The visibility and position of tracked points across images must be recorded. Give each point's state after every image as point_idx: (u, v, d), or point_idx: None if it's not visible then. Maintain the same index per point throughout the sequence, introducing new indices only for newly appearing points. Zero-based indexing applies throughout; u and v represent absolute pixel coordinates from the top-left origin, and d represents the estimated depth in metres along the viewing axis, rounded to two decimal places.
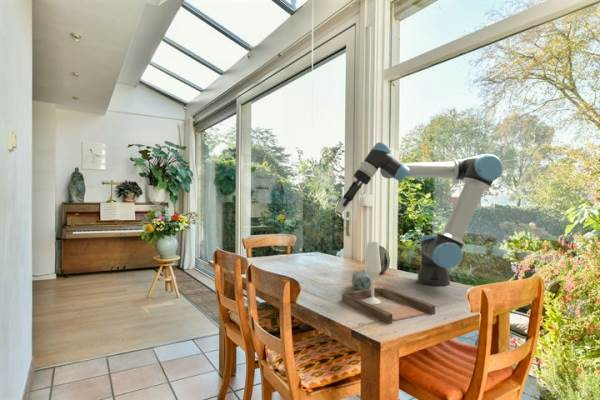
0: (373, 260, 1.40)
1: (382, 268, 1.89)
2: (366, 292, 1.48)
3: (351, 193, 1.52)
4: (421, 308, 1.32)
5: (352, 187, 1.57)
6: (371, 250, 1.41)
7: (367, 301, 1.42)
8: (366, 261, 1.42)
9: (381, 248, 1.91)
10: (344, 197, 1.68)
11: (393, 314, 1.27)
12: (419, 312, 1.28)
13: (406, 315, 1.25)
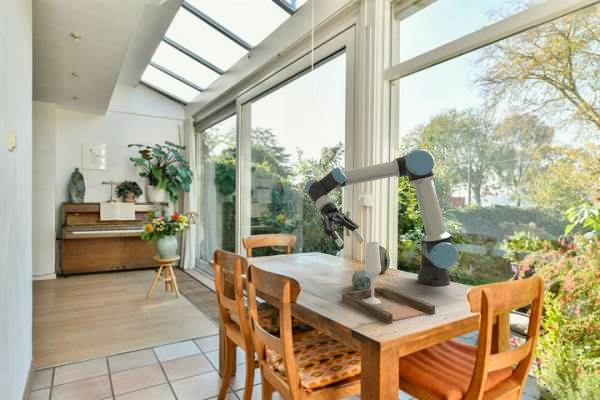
0: (373, 260, 1.40)
1: (382, 268, 1.89)
2: (366, 292, 1.48)
3: (324, 228, 1.50)
4: (421, 308, 1.32)
5: (329, 224, 1.55)
6: (371, 250, 1.41)
7: (367, 301, 1.42)
8: (366, 261, 1.42)
9: (381, 248, 1.91)
10: (352, 230, 1.60)
11: (393, 314, 1.27)
12: (419, 312, 1.28)
13: (406, 315, 1.25)
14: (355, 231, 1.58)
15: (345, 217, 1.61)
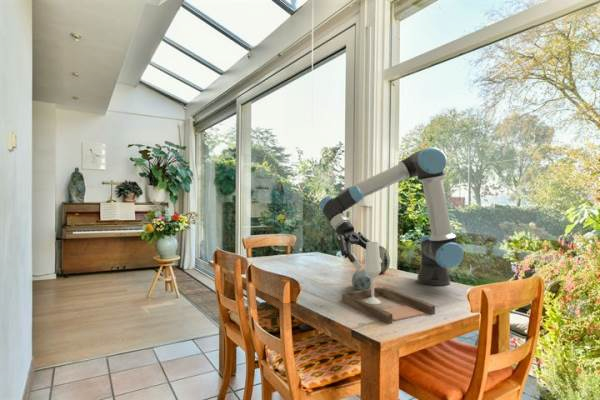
0: (373, 260, 1.40)
1: (382, 268, 1.89)
2: (366, 292, 1.48)
3: (341, 250, 1.42)
4: (421, 308, 1.32)
5: (345, 244, 1.48)
6: (371, 250, 1.41)
7: (367, 301, 1.42)
8: (366, 261, 1.42)
9: (381, 248, 1.91)
10: None
11: (393, 314, 1.27)
12: (419, 312, 1.28)
13: (406, 315, 1.25)
14: None
15: (362, 236, 1.54)
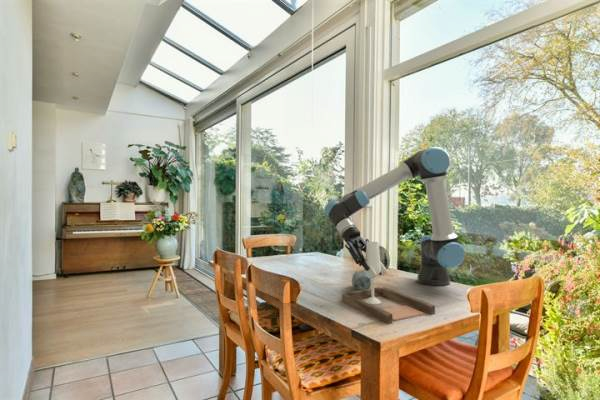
0: (373, 260, 1.40)
1: None
2: (366, 292, 1.48)
3: (354, 258, 1.41)
4: (421, 308, 1.32)
5: None
6: (371, 250, 1.41)
7: (367, 301, 1.42)
8: None
9: (381, 248, 1.91)
10: None
11: (393, 314, 1.27)
12: (419, 312, 1.28)
13: (406, 315, 1.25)
14: None
15: None
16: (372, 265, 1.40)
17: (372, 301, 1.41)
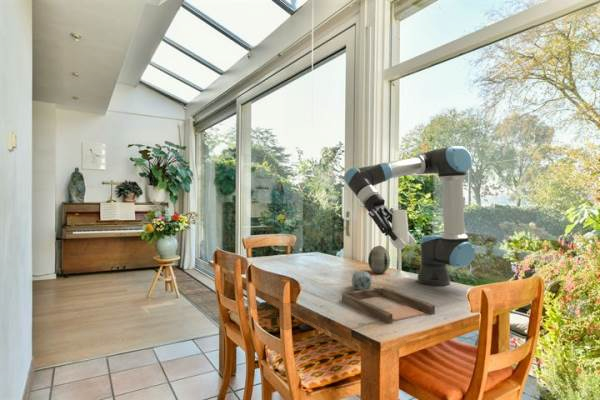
0: (401, 228, 1.26)
1: (382, 268, 1.89)
2: (366, 292, 1.48)
3: (380, 227, 1.27)
4: (421, 308, 1.32)
5: None
6: (399, 218, 1.26)
7: (394, 275, 1.28)
8: None
9: (381, 248, 1.91)
10: None
11: (393, 314, 1.27)
12: (419, 312, 1.28)
13: (406, 315, 1.25)
14: None
15: None
16: (400, 234, 1.26)
17: (399, 275, 1.27)
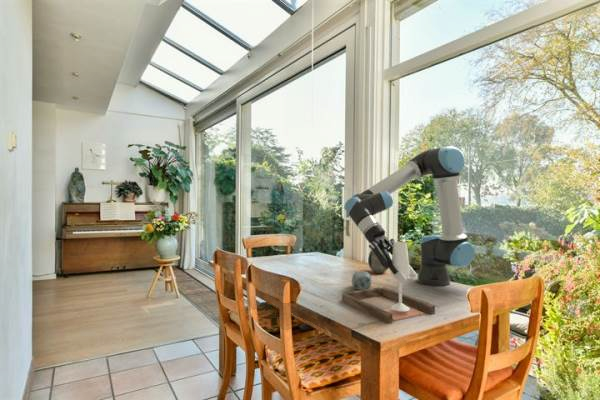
0: (402, 262, 1.26)
1: (382, 268, 1.89)
2: (366, 292, 1.48)
3: (381, 260, 1.27)
4: (421, 308, 1.32)
5: None
6: (399, 251, 1.26)
7: (394, 308, 1.28)
8: (393, 263, 1.28)
9: None
10: None
11: (393, 314, 1.27)
12: (419, 312, 1.28)
13: (406, 315, 1.25)
14: None
15: None
16: (400, 268, 1.26)
17: (400, 308, 1.27)
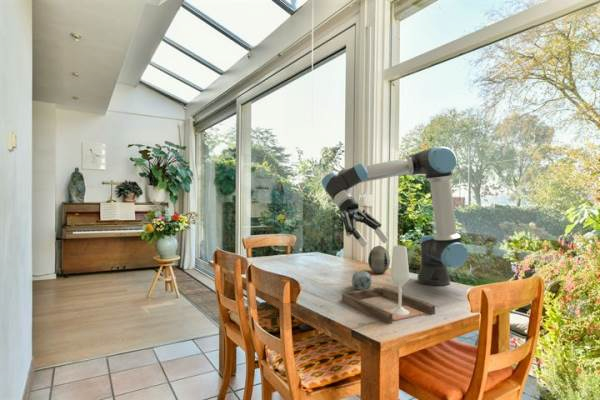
0: (401, 265, 1.26)
1: (382, 268, 1.89)
2: (366, 292, 1.48)
3: (346, 226, 1.36)
4: (421, 308, 1.32)
5: (349, 221, 1.41)
6: (399, 255, 1.26)
7: (394, 311, 1.28)
8: (393, 267, 1.28)
9: (381, 248, 1.91)
10: (375, 228, 1.46)
11: (393, 314, 1.27)
12: (419, 312, 1.28)
13: (406, 315, 1.25)
14: (378, 229, 1.44)
15: (366, 214, 1.47)
16: (400, 272, 1.26)
17: (400, 312, 1.27)
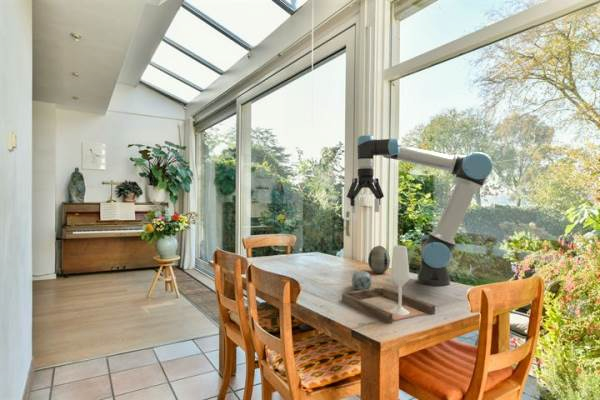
0: (401, 265, 1.26)
1: (382, 268, 1.89)
2: (366, 292, 1.48)
3: (348, 192, 1.66)
4: (421, 308, 1.32)
5: (357, 186, 1.69)
6: (399, 255, 1.27)
7: (394, 311, 1.28)
8: (393, 267, 1.28)
9: (381, 248, 1.91)
10: (376, 197, 1.73)
11: (393, 314, 1.27)
12: (419, 312, 1.28)
13: (406, 315, 1.25)
14: (377, 200, 1.72)
15: (376, 184, 1.71)
16: (400, 272, 1.26)
17: (400, 312, 1.27)
